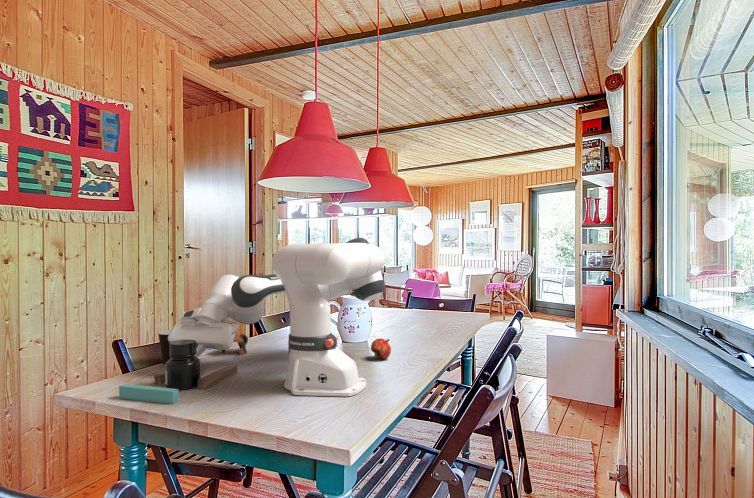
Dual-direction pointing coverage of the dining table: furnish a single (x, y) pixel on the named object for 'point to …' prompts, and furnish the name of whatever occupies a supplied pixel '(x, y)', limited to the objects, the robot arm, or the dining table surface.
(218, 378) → the lane
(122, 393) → the bar
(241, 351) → the brown animal figurine
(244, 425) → the dining table surface
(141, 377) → the dining table surface
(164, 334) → the coffee mug
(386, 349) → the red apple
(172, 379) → the ink bottle
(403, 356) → the dining table surface
